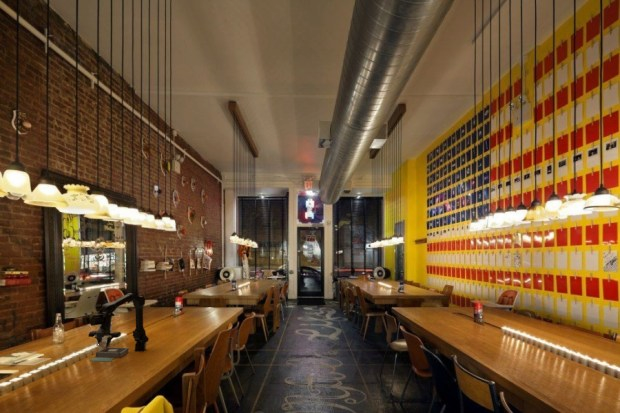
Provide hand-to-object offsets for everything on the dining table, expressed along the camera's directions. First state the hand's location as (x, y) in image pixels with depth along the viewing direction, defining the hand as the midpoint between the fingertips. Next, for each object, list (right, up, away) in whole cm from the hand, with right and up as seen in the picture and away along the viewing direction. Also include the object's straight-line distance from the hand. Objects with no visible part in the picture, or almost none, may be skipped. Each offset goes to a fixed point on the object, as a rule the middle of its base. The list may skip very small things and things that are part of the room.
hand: (103, 347), depth 256 cm
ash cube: (0, -1, 0) cm, 0 cm away
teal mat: (0, -8, -1) cm, 8 cm away
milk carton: (-20, -11, +37) cm, 43 cm away
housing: (0, -9, +12) cm, 15 cm away
